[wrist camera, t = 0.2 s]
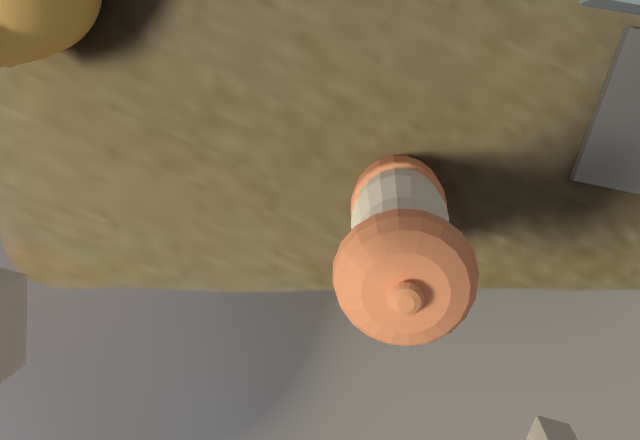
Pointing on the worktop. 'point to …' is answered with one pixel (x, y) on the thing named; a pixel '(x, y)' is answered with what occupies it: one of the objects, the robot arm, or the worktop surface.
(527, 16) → the worktop surface
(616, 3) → the blue brick
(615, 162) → the slate coaster
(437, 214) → the salt shaker
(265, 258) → the worktop surface
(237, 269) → the worktop surface
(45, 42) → the tan rounded piece
